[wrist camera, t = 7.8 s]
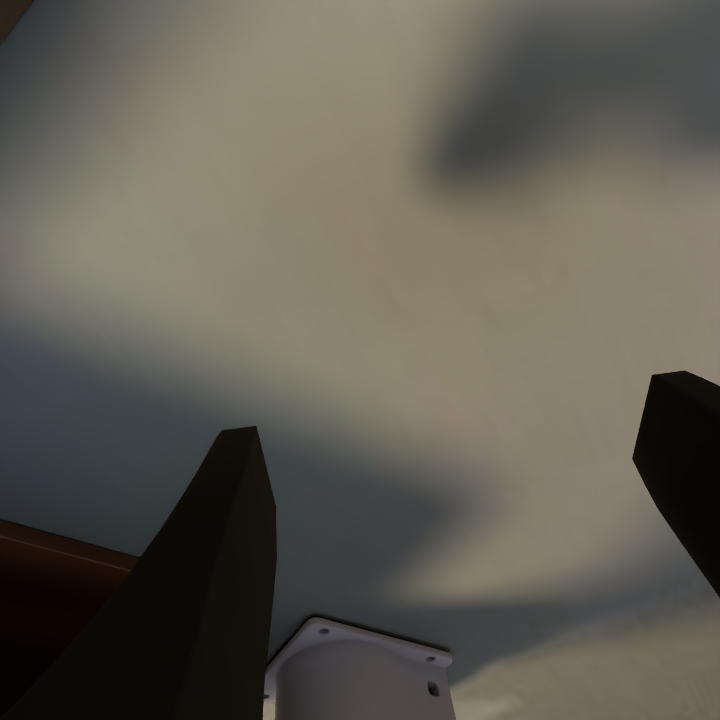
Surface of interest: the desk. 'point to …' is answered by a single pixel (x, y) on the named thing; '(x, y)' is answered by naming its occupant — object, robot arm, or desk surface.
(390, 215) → the desk surface
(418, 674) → the robot arm
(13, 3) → the cupboard door
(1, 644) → the cupboard
